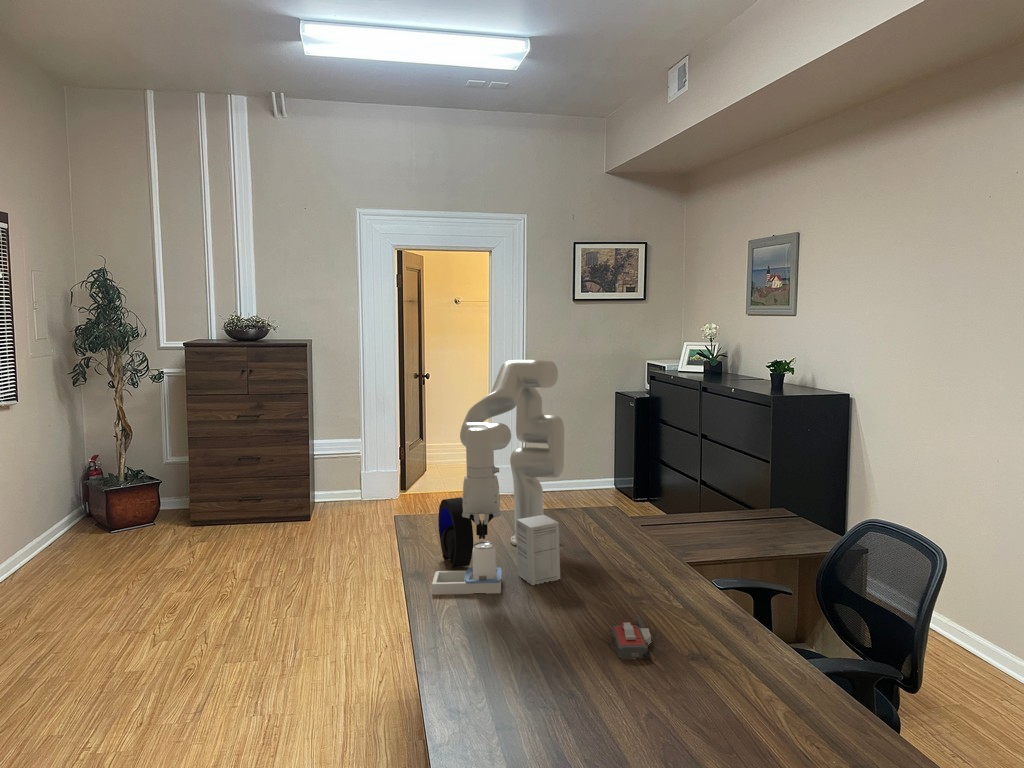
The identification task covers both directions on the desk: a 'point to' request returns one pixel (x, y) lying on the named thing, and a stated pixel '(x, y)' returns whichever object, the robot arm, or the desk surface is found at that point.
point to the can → (484, 560)
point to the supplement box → (538, 549)
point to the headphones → (455, 532)
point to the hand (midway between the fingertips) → (482, 537)
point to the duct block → (464, 583)
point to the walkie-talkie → (631, 640)
